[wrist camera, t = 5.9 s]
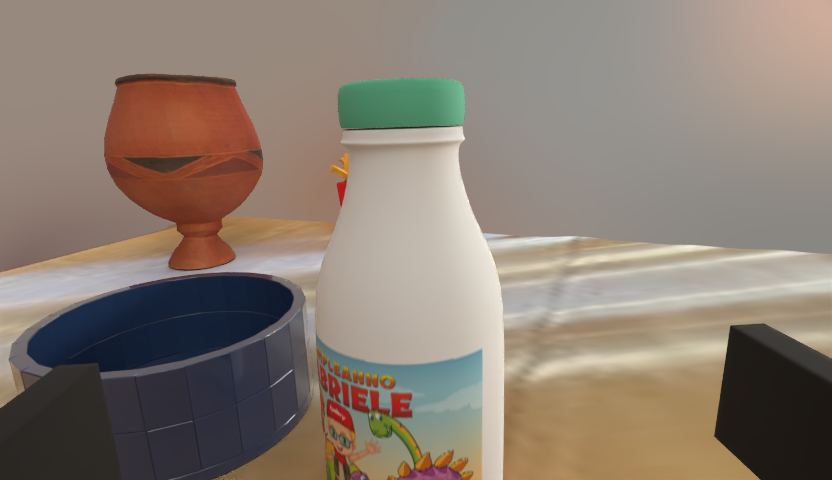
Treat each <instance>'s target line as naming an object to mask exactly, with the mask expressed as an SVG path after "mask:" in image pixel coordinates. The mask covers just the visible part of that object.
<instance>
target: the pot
mask: <svg viewBox="0 0 832 480" xmlns="http://www.w3.org/2000/svg"><path fill="white" fill-rule="evenodd" d="M9 362H10V366H11V370H12V373H13V377H14V381H15V385H16V388H17V392H18V395H19V394H20V393H22V392H23V391H24V390H26V389H27V388H28V387H30V386H31V385H32V384H34V383H35V382H36V381H38V380H39V379H40V378H42V377H43V376H44V375H46V374H47V373H48V372H50V371H51V370H52V369H54V368H55V367H56V366H59V365H76V364H93V363H98V365H99V370H100V375H101V379H102V384H103V389H104V394H105V398H106V403H107V408H108V413H109V417H110V422H111V427H112V432H113V436H114V441H115V446H116V451H117V455H118V460H119V465H120V469H121V474H122V479H123V480H211V479H213V478H216V477H218V476H221V475H223V474H225V473H227V472H229V471H232V470H234V469H236V468H238V467H240V466H242V465H244V464H245V463H247V462H249V461H251V460H252V459H254V458H256V457H257V456H259V455H261V454H262V453H264V452H265V451H266V450H268V449H269V448H271V447H272V446H273V445H275V444H276V443H277V442H279V441H280V440H281V439H282V438H283V437H284V436H286V435H287V434H288V433H289V432H290V431H291V430H292V429H293V428H294V426H295V425H296V424H297V423H298V422H299V421H300V419H301V418H302V416H303V415H304V414H305V412H306V410H307V408H308V406H309V404H310V401H311V397H312V394H313V382H312V378H313V373H312V362H311V352H310V341H309V330H308V320H307V309H306V299H305V296H304V294H303V292H302V290H301V288H300V287H299V286H297V285H296V284H294V283H292V282H291V281H289V280H286V279H283V278H279V277H276V276H272V275H266V274H257V273H238V272H222V273H207V274H195V275H187V276H180V277H173V278H167V279H162V280H157V281H152V282H147V283H142V284H138V285H133V286H129V287H125V288H122V289H118V290H114V291H110V292H107V293H104V294H101V295H98V296H95V297H92V298H89V299H87V300H84V301H81V302H78V303H75V304H73V305H71V306H68V307H66V308H64V309H62V310H60V311H57V312H55V313H53V314H51V315H49V316H47V317H46V318H44V319H42V320H41V321H39V322H38V323H36V324H34V325H33V326H31V327H30V328H28V329H27V330H25V331H24V332H23V333H22V334H21V336H20V337H19V338H18V339H17V340H16V341H15V342H14V343H13V344H12V345H11V350H10V356H9Z"/></svg>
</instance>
